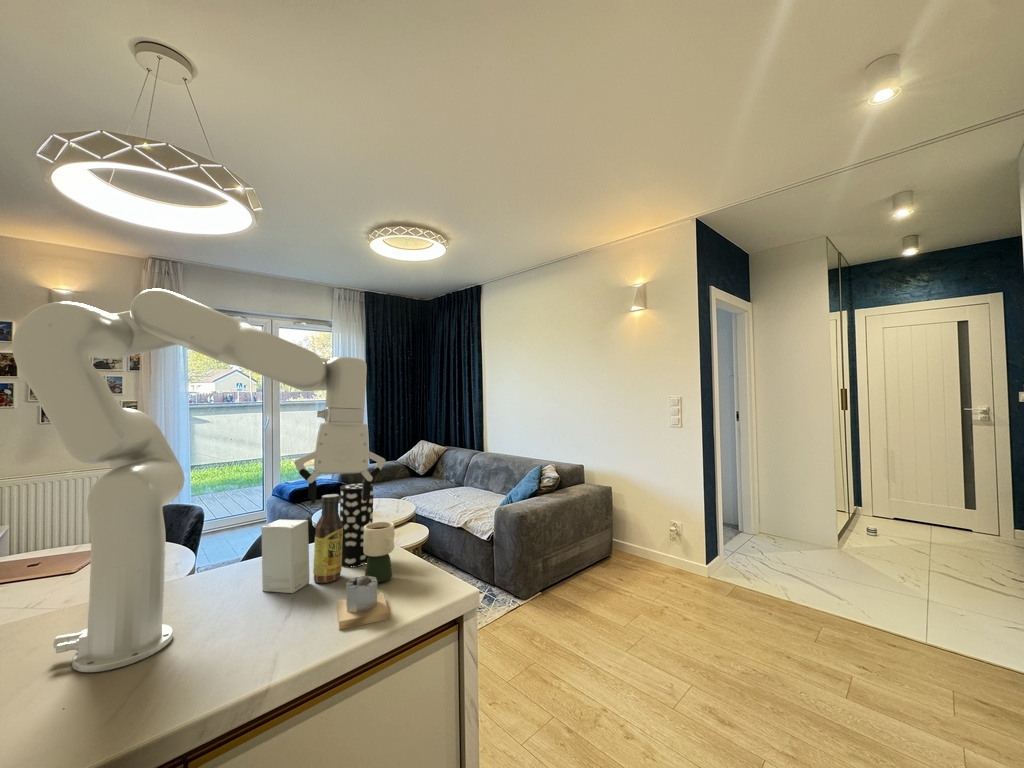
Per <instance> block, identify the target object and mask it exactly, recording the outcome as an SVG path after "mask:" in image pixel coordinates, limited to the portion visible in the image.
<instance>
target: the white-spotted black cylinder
mask: <svg viewBox="0 0 1024 768" xmlns="http://www.w3.org/2000/svg"><path fill="white" fill-rule="evenodd" d="M362 486H363V482H362V483H361V482H359V483H356V482H355V483H349V484H343V485H341V486H340V487H339V488H340V490H339V491H340V494H339V498H340V499H339V517H340V520H341V523H342V526H343V541H342V567H343V566H346V567H345V568H354V567H353V566H358V565H362V564H365V563H367V559H368V557H369V556H367V555H365V554H364V552H363V548H364V526H365V525H367V524H370V523H374V522H373V521H374V520H373V519H374V518H373V517H374V513H373V511H374V507H373V506H374V484H372V483H371V486H370V496H367V500H366V501H364V500H362ZM351 566H352V567H351ZM358 567H359V566H358Z"/></svg>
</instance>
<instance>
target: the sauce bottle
mask: <svg viewBox="0 0 1024 768" xmlns="http://www.w3.org/2000/svg"><path fill="white" fill-rule="evenodd" d="M339 504H340V494H339V493H331V494H324V495H322V496H321V516H320V517H319V519H318V521H317V522H316V525H315V535H314V545H313V546H314V549H313V550H314V551H313V552H314V553H313V581H314V582H315V583H317V584H318V583H319V584H328V583H332V582H334V581H337V580H339V578H340V577H341V571H342V567H343V566H342V541H343V526H342V523H341V520H340V510H339Z"/></svg>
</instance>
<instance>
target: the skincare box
mask: <svg viewBox="0 0 1024 768" xmlns="http://www.w3.org/2000/svg"><path fill="white" fill-rule="evenodd" d="M309 541H310V540H309V520H308V519H278V520H274V521H272V522H270V523H267V524H265V525H263V526H261V567H262V568H261V571H262V572H261V573H262V575H261V576H262V577H261V578H262V580H261V581H262V592H271V593H273V592H274V593H286V594H287V593H288V594H294V593H296V592H297V591H299V590H300V589H302V588H304V587H306V586H307V585H309V583H310V551H309V549H310V548H309V546H310V545H309V544H310V543H309Z"/></svg>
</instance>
